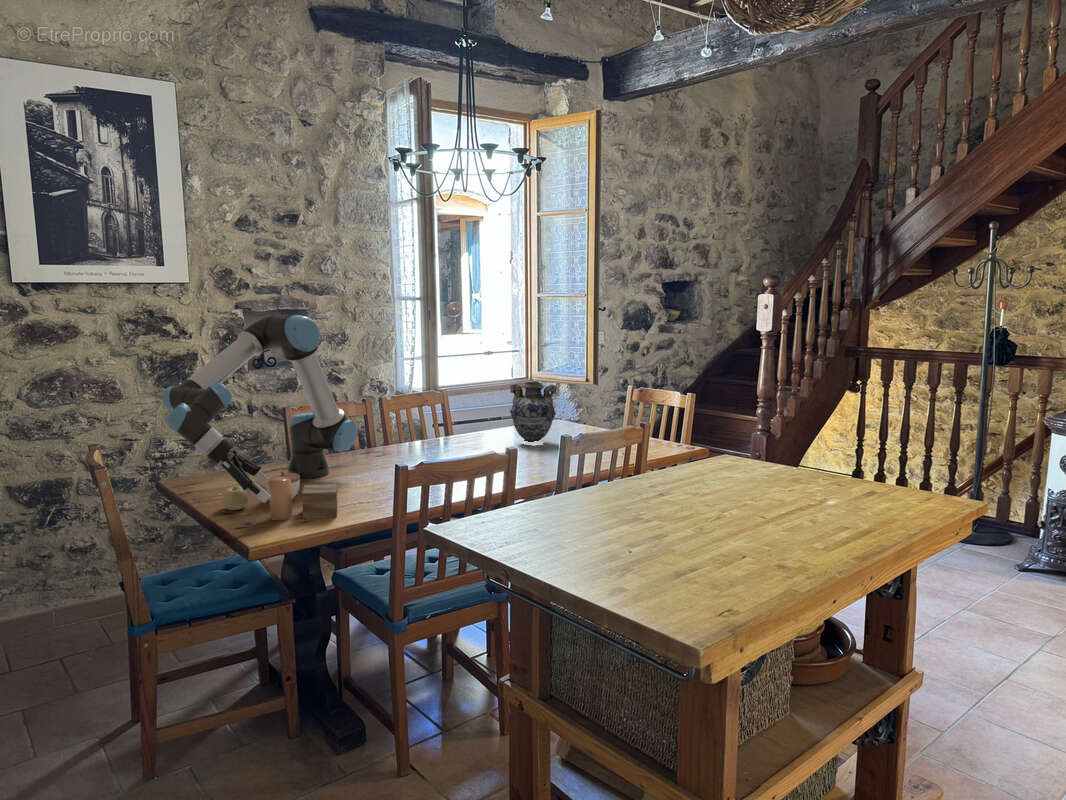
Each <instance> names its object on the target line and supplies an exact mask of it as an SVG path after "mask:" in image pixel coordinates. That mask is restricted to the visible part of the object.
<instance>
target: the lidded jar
mask: <svg viewBox="0 0 1066 800" xmlns="http://www.w3.org/2000/svg"><path fill="white" fill-rule="evenodd" d="M266 476H267V477H268V478H269V479H271V478H275V477H289V478H291V494H292V499H293V498H295V497H296V495H298V494H299V490H300V485H301V481H300V480H301V478H300V475H299V474H296V473H287V472H285V470H283V471H280V472H279V473H278V472H277V473H272V474H268V475H266ZM266 489H267V488H266ZM267 493H269V490H268V489H267ZM293 500H294V499H293Z"/></svg>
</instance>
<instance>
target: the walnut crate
mask: <svg viewBox="0 0 1066 800" xmlns="http://www.w3.org/2000/svg"><path fill="white" fill-rule="evenodd" d="M301 498H302V499H301V501H302V502H301V503H302V504H301V505H302V519H303V520H305V519H304V518H314V519H323V518H322V517H331V518H337V517H338V509H337V508H338V507H339V506H338V483H322V484H320V483H319V484H304V485H303V488H302V492H301Z"/></svg>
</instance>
